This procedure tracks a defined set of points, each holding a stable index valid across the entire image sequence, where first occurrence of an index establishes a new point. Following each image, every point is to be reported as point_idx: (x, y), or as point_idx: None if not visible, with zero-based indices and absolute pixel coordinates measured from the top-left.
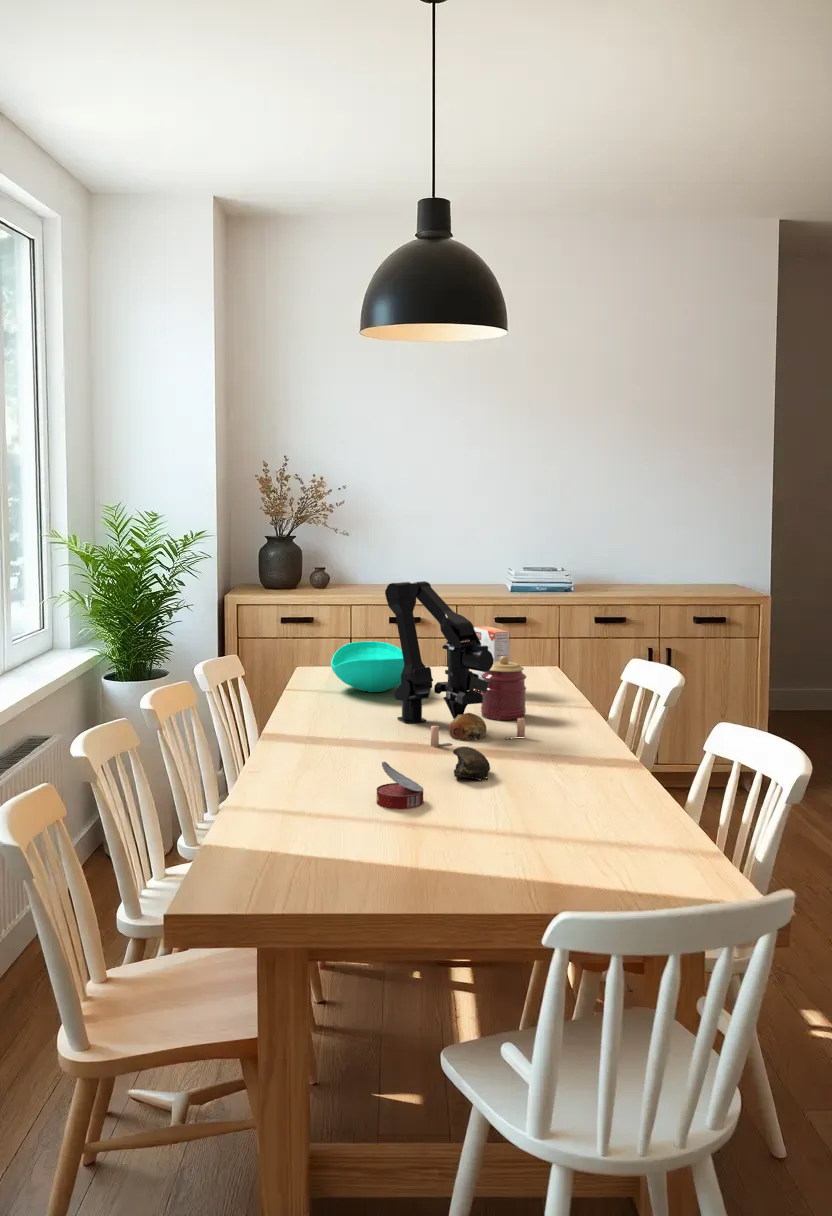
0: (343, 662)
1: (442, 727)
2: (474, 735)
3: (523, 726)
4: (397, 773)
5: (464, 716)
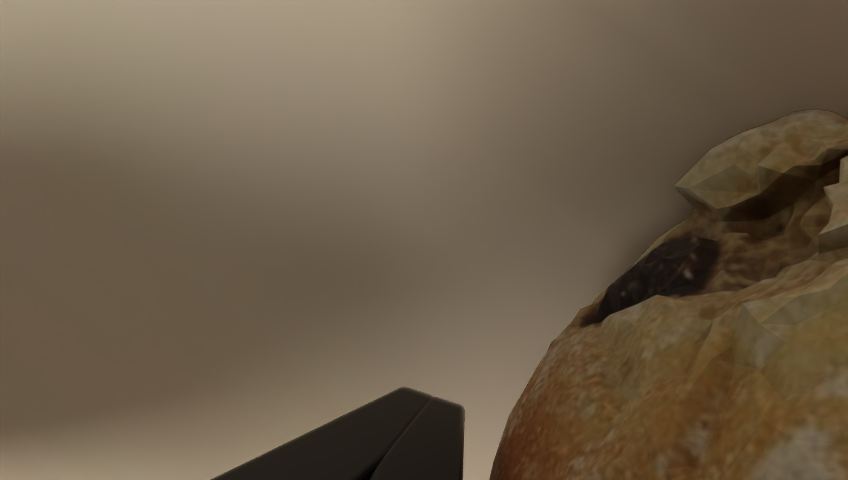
0: None
1: (113, 302)
2: None
3: None
4: None
5: None
